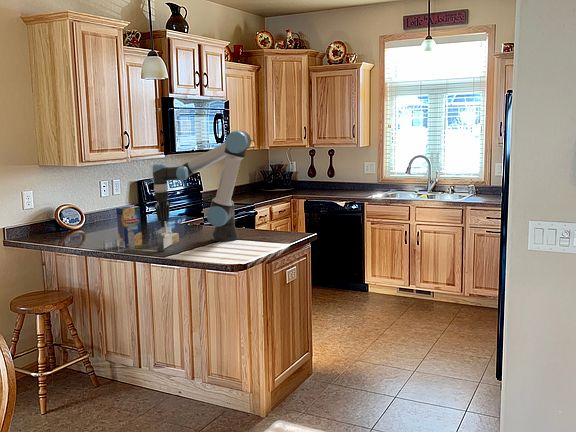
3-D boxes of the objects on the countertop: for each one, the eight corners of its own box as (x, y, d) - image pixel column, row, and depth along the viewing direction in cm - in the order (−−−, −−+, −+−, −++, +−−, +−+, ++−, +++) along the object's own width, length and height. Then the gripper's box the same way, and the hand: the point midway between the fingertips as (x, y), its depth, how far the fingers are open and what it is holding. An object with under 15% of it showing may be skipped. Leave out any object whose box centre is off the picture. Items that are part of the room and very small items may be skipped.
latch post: (135, 249, 321) (134, 231, 319) (131, 250, 318) (130, 232, 316) (132, 249, 321) (131, 231, 320) (129, 250, 319) (127, 232, 317)
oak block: (179, 241, 341) (178, 233, 340) (171, 244, 333) (171, 235, 332) (167, 241, 344) (167, 232, 343) (159, 243, 336) (159, 235, 335)
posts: (165, 251, 314) (163, 233, 312) (161, 252, 311) (160, 234, 309) (135, 249, 321) (134, 231, 319) (132, 250, 318) (131, 232, 316)
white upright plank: (164, 249, 315) (163, 236, 313) (160, 249, 315) (159, 236, 314) (172, 243, 329) (171, 231, 328) (169, 243, 330) (168, 231, 328)
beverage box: (142, 244, 334) (139, 206, 330) (125, 248, 326) (122, 209, 322) (135, 243, 338) (133, 205, 335) (118, 246, 330) (116, 208, 327)
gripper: (162, 190, 336) (165, 230, 340) (148, 192, 324) (152, 234, 328) (173, 190, 333) (176, 230, 337) (160, 192, 322) (163, 234, 325)
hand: (164, 232), depth 332 cm, fingers closed
